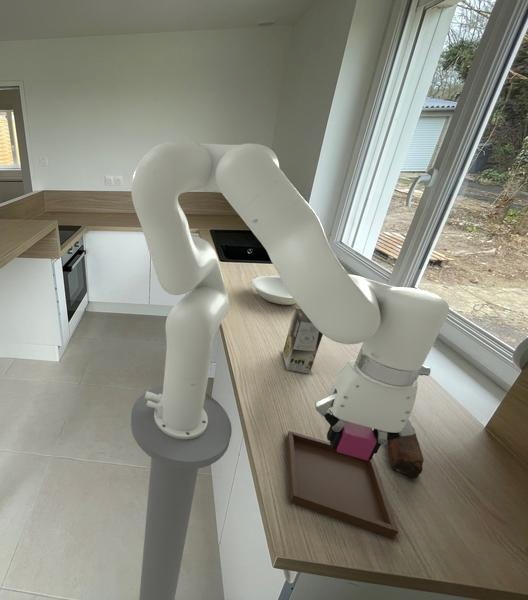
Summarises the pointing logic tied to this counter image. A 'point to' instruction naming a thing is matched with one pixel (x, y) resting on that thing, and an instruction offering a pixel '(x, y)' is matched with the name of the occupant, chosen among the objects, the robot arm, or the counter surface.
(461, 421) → the counter surface
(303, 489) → the tray
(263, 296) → the soup bowl
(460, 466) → the counter surface
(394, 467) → the brick
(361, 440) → the mulberry cube
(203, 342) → the robot arm
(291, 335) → the coffee box
